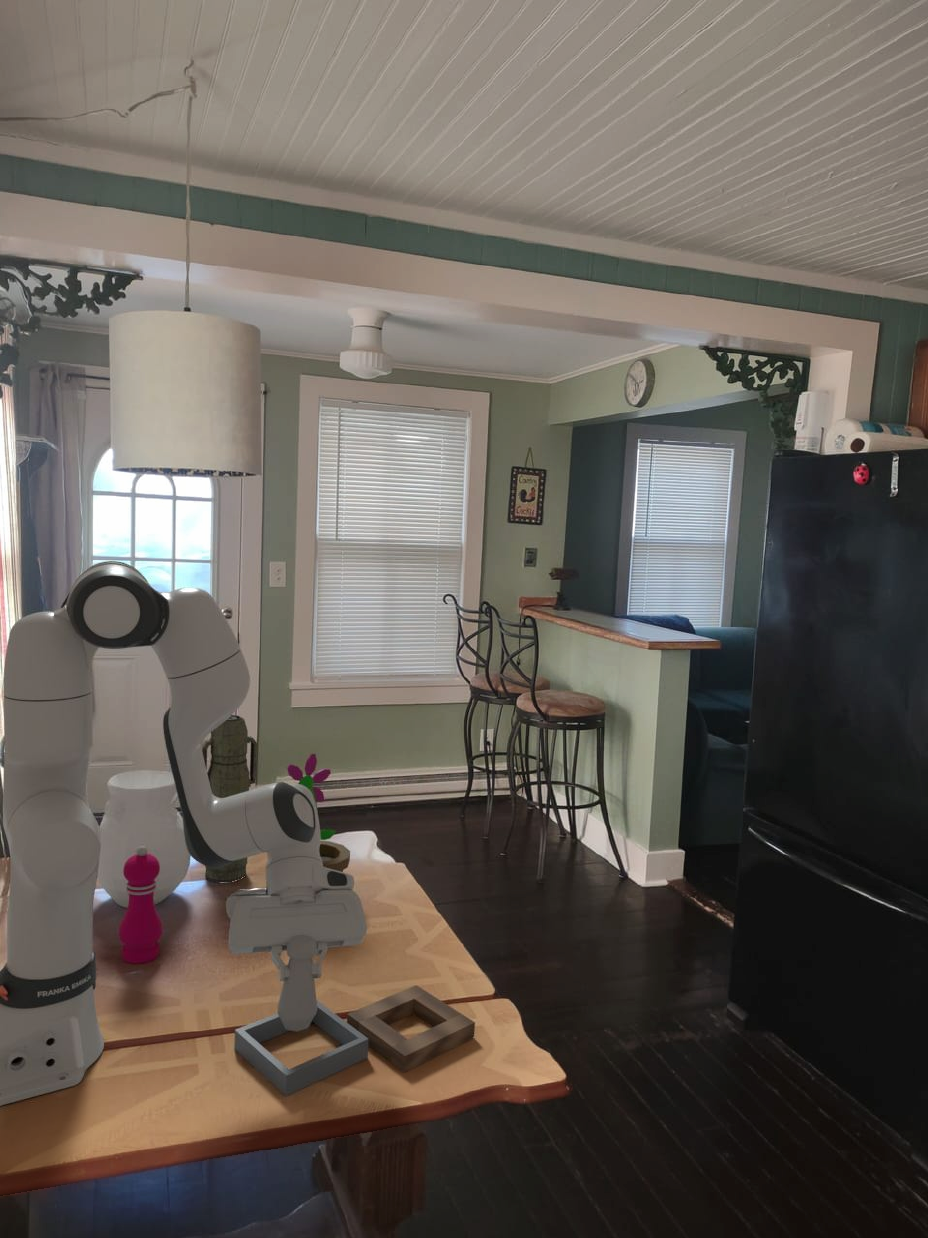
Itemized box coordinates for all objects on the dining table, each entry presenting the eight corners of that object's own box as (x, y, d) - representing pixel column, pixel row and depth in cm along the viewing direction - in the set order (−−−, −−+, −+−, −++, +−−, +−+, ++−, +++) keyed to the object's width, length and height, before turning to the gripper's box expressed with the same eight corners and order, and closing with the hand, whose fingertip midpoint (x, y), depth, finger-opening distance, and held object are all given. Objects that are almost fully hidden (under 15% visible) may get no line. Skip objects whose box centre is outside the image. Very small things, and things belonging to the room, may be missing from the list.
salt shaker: (306, 1038, 128) (312, 952, 126) (269, 1030, 129) (275, 945, 127) (322, 1017, 133) (328, 934, 132) (286, 1009, 134) (291, 927, 133)
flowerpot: (320, 881, 194) (325, 746, 191) (362, 903, 184) (368, 761, 181) (264, 898, 184) (268, 756, 181) (305, 923, 174) (310, 772, 171)
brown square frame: (404, 1072, 129) (404, 1056, 128) (346, 1029, 139) (347, 1014, 138) (474, 1037, 138) (474, 1022, 138) (415, 999, 148) (416, 985, 148)
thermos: (191, 874, 194) (194, 715, 190) (242, 863, 201) (246, 710, 198) (207, 888, 187) (211, 724, 183) (259, 876, 195) (264, 719, 191)
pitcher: (137, 928, 168) (138, 799, 165) (72, 903, 177) (72, 780, 174) (209, 894, 184) (212, 776, 182) (147, 873, 193) (148, 760, 190)
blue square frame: (285, 1096, 122) (286, 1075, 122) (234, 1049, 132) (234, 1030, 132) (367, 1058, 132) (368, 1039, 131) (314, 1016, 142) (314, 998, 141)
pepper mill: (112, 952, 158) (113, 843, 156) (152, 942, 163) (154, 836, 161) (127, 969, 153) (128, 857, 151) (168, 958, 157) (170, 848, 155)
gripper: (227, 881, 132) (228, 977, 124) (363, 875, 139) (373, 965, 131) (224, 898, 137) (225, 992, 129) (355, 891, 143) (364, 979, 135)
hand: (300, 978), depth 130 cm, fingers closed on salt shaker, 3 cm apart
